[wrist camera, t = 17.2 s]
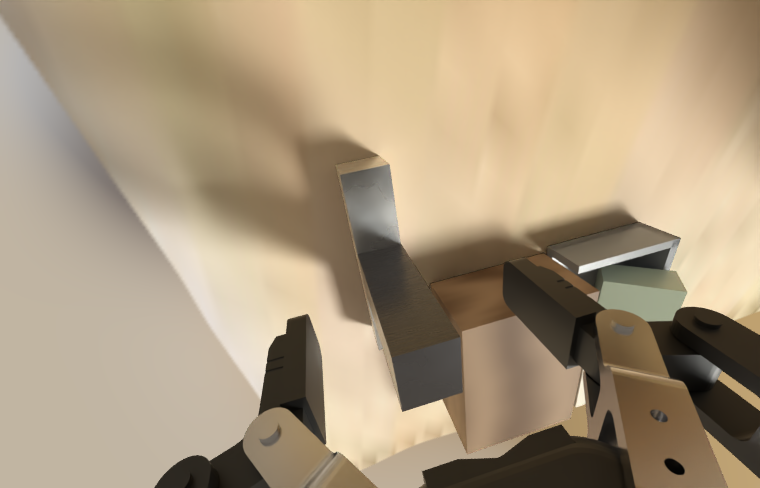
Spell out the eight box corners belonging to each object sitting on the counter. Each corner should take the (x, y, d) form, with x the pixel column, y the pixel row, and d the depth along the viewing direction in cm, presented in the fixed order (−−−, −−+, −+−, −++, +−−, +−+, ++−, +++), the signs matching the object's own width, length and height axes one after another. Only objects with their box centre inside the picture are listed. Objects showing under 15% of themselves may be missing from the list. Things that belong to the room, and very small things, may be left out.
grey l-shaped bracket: (378, 155, 17) (455, 219, 8) (403, 316, 23) (465, 454, 14) (335, 164, 17) (368, 241, 8) (371, 325, 23) (414, 472, 14)
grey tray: (638, 221, 24) (680, 238, 21) (604, 348, 30) (633, 373, 28) (547, 246, 23) (579, 266, 20) (533, 372, 29) (555, 399, 27)
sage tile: (603, 281, 22) (599, 263, 24) (591, 327, 24) (589, 307, 26) (687, 292, 20) (676, 271, 22) (666, 341, 22) (657, 318, 24)
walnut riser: (543, 253, 23) (599, 290, 19) (530, 369, 29) (570, 418, 25) (430, 283, 22) (461, 331, 17) (441, 397, 28) (467, 454, 24)
